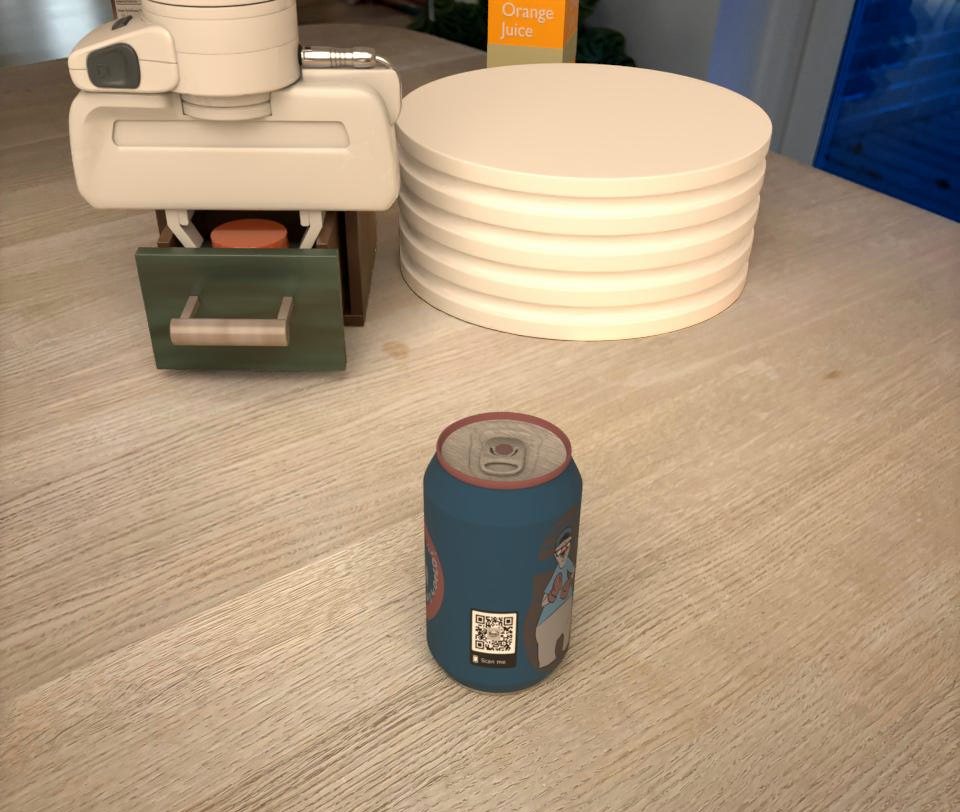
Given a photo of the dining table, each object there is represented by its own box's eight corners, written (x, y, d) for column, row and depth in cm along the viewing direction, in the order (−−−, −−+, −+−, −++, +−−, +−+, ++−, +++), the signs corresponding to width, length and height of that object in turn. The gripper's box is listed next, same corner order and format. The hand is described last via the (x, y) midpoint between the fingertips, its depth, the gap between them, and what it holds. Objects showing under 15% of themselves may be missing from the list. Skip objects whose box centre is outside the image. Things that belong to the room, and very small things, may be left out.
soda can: (436, 606, 58) (433, 399, 50) (570, 616, 58) (588, 409, 50) (417, 699, 53) (410, 484, 45) (564, 711, 52) (583, 496, 44)
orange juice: (573, 115, 121) (587, -105, 108) (558, 141, 115) (571, -90, 102) (502, 109, 122) (507, -109, 109) (484, 134, 116) (487, -95, 103)
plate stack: (432, 356, 79) (430, 190, 71) (377, 211, 99) (371, 70, 92) (803, 324, 83) (838, 165, 76) (677, 191, 104) (694, 56, 96)
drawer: (338, 411, 71) (328, 292, 66) (139, 409, 71) (113, 290, 66) (361, 280, 86) (354, 175, 81) (196, 279, 86) (179, 173, 81)
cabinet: (364, 326, 82) (355, 191, 76) (175, 325, 82) (151, 189, 76) (377, 242, 94) (371, 119, 88) (212, 241, 94) (194, 117, 88)
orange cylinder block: (214, 312, 75) (204, 247, 72) (226, 281, 78) (217, 218, 76) (289, 312, 75) (282, 247, 72) (297, 281, 79) (291, 218, 76)
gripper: (402, 33, 69) (409, 254, 78) (68, 30, 69) (114, 252, 78) (397, 61, 64) (405, 292, 73) (38, 58, 64) (91, 290, 73)
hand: (253, 272), depth 76 cm, fingers closed on orange cylinder block, 5 cm apart
